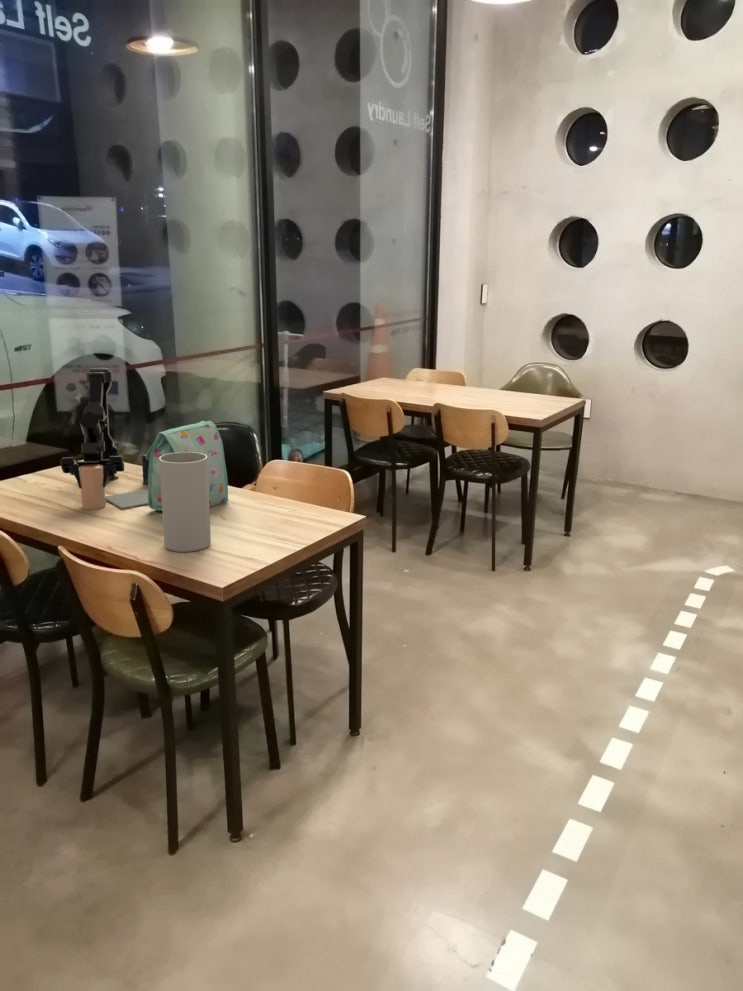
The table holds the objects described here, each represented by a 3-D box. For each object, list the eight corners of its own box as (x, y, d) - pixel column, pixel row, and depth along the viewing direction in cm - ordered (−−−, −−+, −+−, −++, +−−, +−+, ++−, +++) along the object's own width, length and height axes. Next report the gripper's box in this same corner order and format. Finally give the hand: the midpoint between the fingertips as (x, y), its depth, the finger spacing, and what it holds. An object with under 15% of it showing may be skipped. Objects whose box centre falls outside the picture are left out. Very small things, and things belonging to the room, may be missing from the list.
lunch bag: (198, 494, 260) (194, 415, 253) (233, 503, 252) (230, 421, 244) (143, 510, 242) (138, 426, 234) (180, 520, 233) (175, 433, 226)
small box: (160, 485, 269) (158, 456, 266) (142, 484, 270) (140, 455, 267) (172, 478, 279) (170, 449, 276) (155, 477, 280) (153, 448, 277)
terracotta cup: (79, 505, 245) (76, 466, 242) (100, 501, 250) (97, 463, 246) (87, 510, 241) (84, 470, 237) (108, 507, 245) (105, 467, 241)
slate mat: (103, 498, 253) (103, 496, 253) (146, 491, 263) (146, 489, 262) (121, 509, 242) (121, 507, 242) (166, 501, 252) (166, 499, 251)
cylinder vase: (192, 534, 221) (188, 449, 214) (220, 544, 214) (216, 457, 207) (155, 545, 212) (149, 457, 205) (183, 556, 204) (178, 465, 197)
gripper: (58, 432, 240) (55, 475, 233) (120, 431, 244) (119, 473, 237) (64, 451, 250) (62, 493, 243) (124, 449, 254) (124, 491, 246)
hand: (92, 487), depth 242 cm, fingers closed on terracotta cup, 7 cm apart
